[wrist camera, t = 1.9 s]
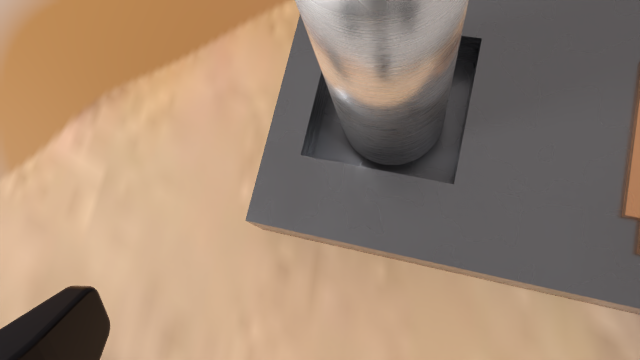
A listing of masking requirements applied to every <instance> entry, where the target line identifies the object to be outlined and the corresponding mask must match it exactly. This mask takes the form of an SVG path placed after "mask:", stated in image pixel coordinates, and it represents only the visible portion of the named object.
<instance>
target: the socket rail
mask: <svg viewBox="0 0 640 360" xmlns="http://www.w3.org/2000/svg"><path fill="white" fill-rule="evenodd" d="M246 221H247V222H249V223H251V224H253V225H255V226H257V227H259V228H261V229H264V230H268V231H273V232H277V233H281V234H286V235H290V236H295V237H299V238H304V239H308V240H312V241H317V242H321V243H326V244H330V245H335V246H339V247H343V248H348V249H352V250H357V251H361V252H366V253H370V254H374V255H379V256H383V257H388V258H392V259H397V260H401V261H405V262H410V263H414V264H419V265H423V266H428V267H432V268H436V269H441V270H445V271H450V272H454V273H459V274H463V275H467V276H472V277H476V278H481V279H485V280H490V281H494V282H498V283H503V284H507V285H512V286H516V287H521V288H525V289H529V290H534V291H538V292H543V293H547V294H552V295H556V296H560V297H565V298H569V299H574V300H578V301H583V302H587V303H591V304H596V305H600V306H605V307H609V308H614V309H618V310H622V311H627V312H631V313H636V314H640V0H469V1H468V6H467V11H466V16H465V20H464V25H463V30H462V35H461V40H460V45H459V50H458V55H457V60H456V65H455V70H454V75H453V80H452V85H451V89H450V94H449V99H448V104H447V109H446V114H445V119H444V124H443V128H442V131H441V134H440V136H439V138H438V140H437V141H436V143H435V144H434V146H433V147H432V148H431V149H430V150H429V151H428V152H426V153H425V154H424V155H423V156H421V157H419V158H418V159H416V160H414V161H411V162H408V163H404V164H399V165H385V164H379V163H376V162H373V161H371V160H368V159H366V158H365V157H363V156H362V155H360V154H359V153H358V152H357V151H356V150H355V149H354V148H353V147H352V146H351V144H350V143H349V141H348V139H347V137H346V135H345V133H344V130H343V127H342V125H341V122H340V119H339V116H338V114H337V111H336V108H335V106H334V103H333V100H332V98H331V95H330V92H329V90H328V87H327V84H326V82H325V79H324V76H323V74H322V71H321V68H320V66H319V63H318V60H317V58H316V55H315V52H314V50H313V47H312V44H311V41H310V39H309V36H308V33H307V31H306V28H305V25H304V23H303V20H302V17H301V15H300V17H299V21H298V25H297V28H296V32H295V36H294V40H293V43H292V47H291V51H290V55H289V58H288V62H287V66H286V70H285V74H284V77H283V81H282V85H281V89H280V92H279V96H278V100H277V104H276V107H275V111H274V115H273V119H272V123H271V126H270V130H269V134H268V138H267V141H266V145H265V149H264V153H263V156H262V160H261V164H260V168H259V172H258V175H257V179H256V183H255V187H254V190H253V194H252V198H251V202H250V206H249V209H248V213H247V217H246Z"/></svg>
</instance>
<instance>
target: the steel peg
mask: <svg viewBox="0 0 640 360" xmlns="http://www.w3.org/2000/svg"><path fill="white" fill-rule="evenodd" d="M295 1H296V4H297V7H298V9H299V12H300V15H301V17H302V20H303V23H304V25H305V28H306V31H307V33H308V36H309V39H310V41H311V44H312V47H313V50H314V52H315V55H316V58H317V60H318V63H319V66H320V68H321V71H322V74H323V76H324V79H325V82H326V84H327V87H328V90H329V92H330V95H331V98H332V100H333V103H334V106H335V108H336V111H337V114H338V116H339V119H340V122H341V125H342V127H343V130H344V133H345V135H346V137H347V139H348V141H349V143H350V144H351V146H352V147H353V148H354V149H355V150H356V151H357V152H358V153H359V154H360V155H362V156H363V157H365V158H366V159H368V160H371V161H373V162H376V163H379V164H385V165H399V164H404V163H408V162H411V161H414V160H416V159H418V158H419V157H421V156H423V155H424V154H425V153H426V152H428V151H429V150H430V149H431V148H432V147H433V146H434V144H435V143H436V141H437V140H438V138H439V136H440V134H441V131H442V128H443V124H444V119H445V114H446V109H447V104H448V99H449V94H450V89H451V85H452V80H453V75H454V70H455V65H456V60H457V55H458V50H459V45H460V40H461V35H462V30H463V25H464V20H465V16H466V11H467V6H468V1H469V0H295Z"/></svg>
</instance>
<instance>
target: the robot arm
mask: <svg viewBox="0 0 640 360" xmlns="http://www.w3.org/2000/svg"><path fill="white" fill-rule="evenodd" d="M109 331H110V320H109V317H108V315H107V312H106V310H105V308H104V305H103V303H102V300H101V298H100V296H99V293H98V291H97V290H96V289H95V288H94V287H91V286H70V287H67V288H65V289H64V290H62V291H61V292H59V293H57V294H56V295H54V296H53V297H51V298H49V299H48V300H46V301H45V302H43V303H41V304H40V305H38V306H37V307H35V308H33V309H32V310H30V311H29V312H27V313H25V314H24V315H22V316H21V317H19V318H17V319H16V320H14V321H13V322H11V323H10V324H8V325H6V326H5V327H3V328H2V329H0V360H100V358H101V355H102V352H103V349H104V347H105V344H106V341H107V338H108V336H109Z"/></svg>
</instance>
